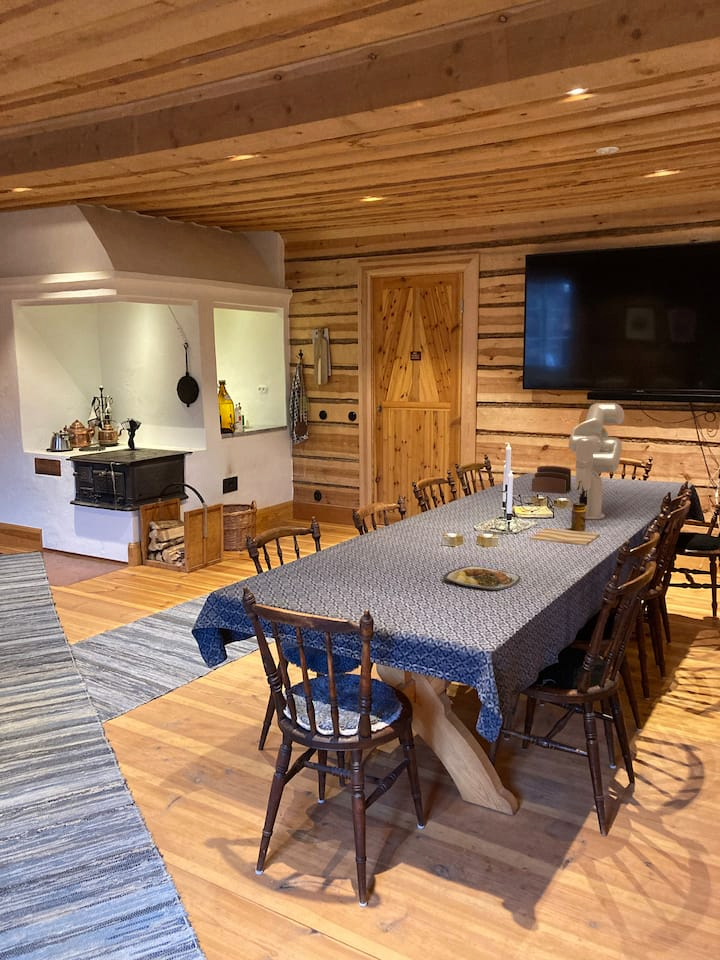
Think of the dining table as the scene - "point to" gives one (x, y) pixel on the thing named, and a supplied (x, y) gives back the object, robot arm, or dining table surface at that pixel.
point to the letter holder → (552, 480)
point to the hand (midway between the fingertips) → (583, 504)
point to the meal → (482, 577)
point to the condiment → (578, 518)
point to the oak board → (565, 536)
